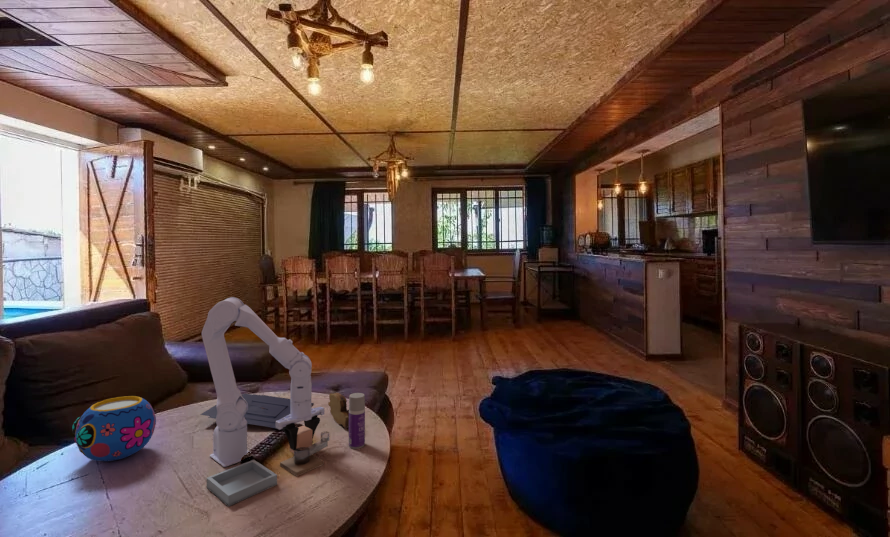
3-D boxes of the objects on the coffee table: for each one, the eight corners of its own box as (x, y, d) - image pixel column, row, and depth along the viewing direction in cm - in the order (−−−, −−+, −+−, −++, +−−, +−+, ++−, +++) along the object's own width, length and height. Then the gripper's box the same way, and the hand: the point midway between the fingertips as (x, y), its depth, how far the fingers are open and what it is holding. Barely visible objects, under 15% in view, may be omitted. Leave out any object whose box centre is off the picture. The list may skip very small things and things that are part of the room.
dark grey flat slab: (235, 398, 159) (236, 389, 158) (313, 410, 158) (314, 400, 158) (195, 425, 134) (196, 414, 134) (287, 438, 134) (288, 427, 134)
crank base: (279, 466, 112) (280, 461, 112) (306, 454, 118) (306, 451, 118) (296, 476, 107) (296, 472, 107) (323, 464, 113) (323, 460, 113)
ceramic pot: (70, 456, 116) (69, 402, 115) (148, 436, 129) (147, 388, 128) (79, 480, 104) (78, 421, 103) (163, 455, 117) (163, 402, 116)
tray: (206, 487, 101) (206, 477, 101) (253, 468, 110) (253, 459, 110) (228, 506, 94) (228, 495, 94) (277, 484, 103) (277, 474, 103)
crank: (301, 465, 110) (301, 449, 110) (290, 461, 112) (290, 446, 112) (333, 447, 120) (333, 433, 120) (323, 444, 122) (323, 430, 122)
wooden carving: (358, 429, 136) (358, 398, 135) (345, 433, 133) (345, 402, 132) (335, 414, 148) (335, 386, 148) (323, 417, 145) (323, 388, 145)
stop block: (289, 450, 120) (289, 430, 120) (303, 445, 124) (303, 425, 124) (298, 455, 118) (298, 434, 117) (312, 450, 121) (312, 429, 121)
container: (361, 449, 122) (361, 398, 121) (345, 447, 123) (346, 397, 122) (367, 442, 126) (367, 393, 126) (352, 440, 127) (352, 392, 127)
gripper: (285, 409, 112) (285, 459, 113) (330, 395, 123) (330, 441, 124) (271, 403, 116) (271, 451, 117) (316, 390, 128) (316, 434, 128)
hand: (301, 445), depth 121 cm, fingers closed on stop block, 4 cm apart
